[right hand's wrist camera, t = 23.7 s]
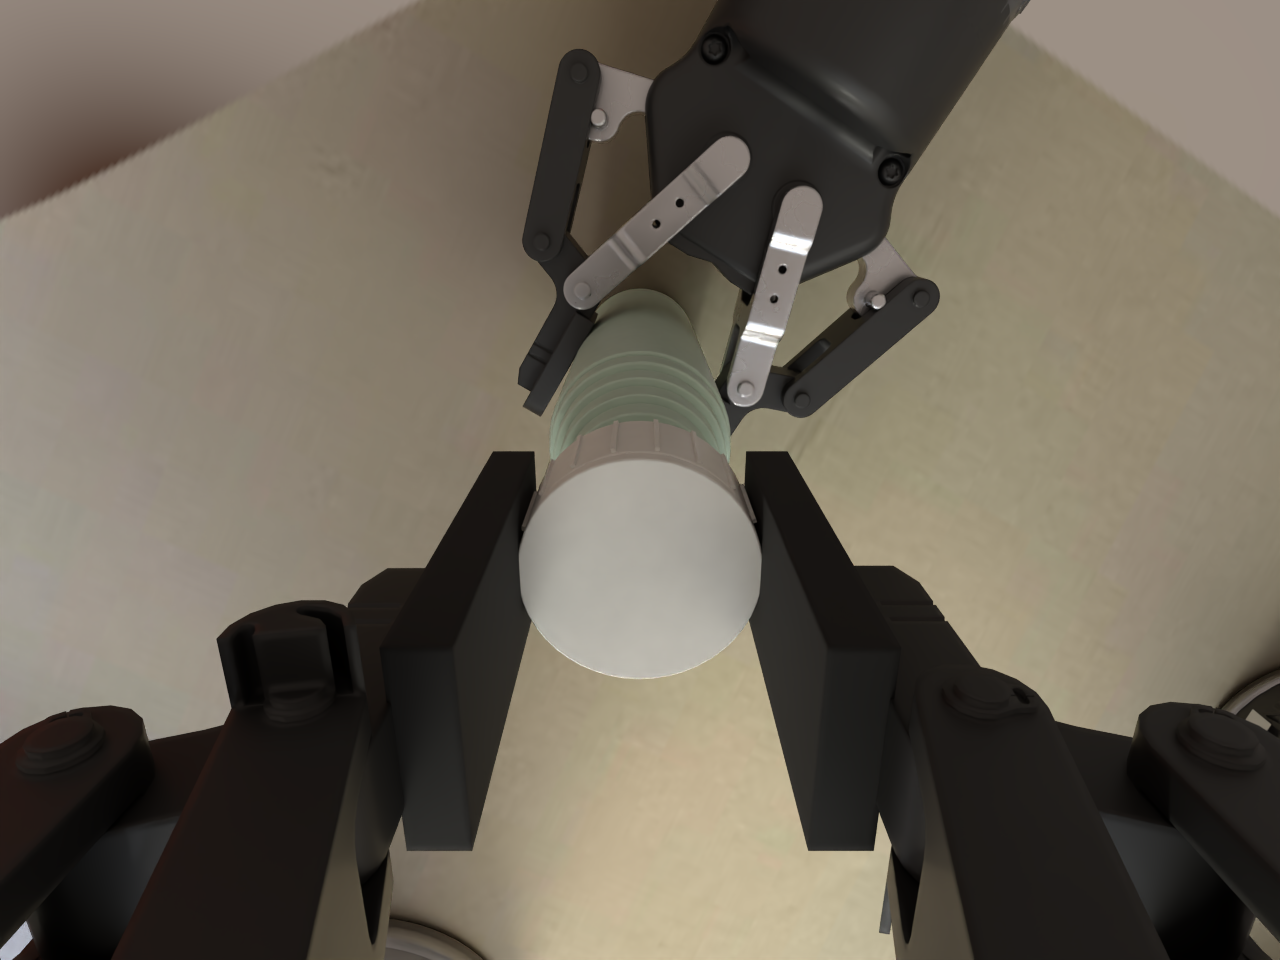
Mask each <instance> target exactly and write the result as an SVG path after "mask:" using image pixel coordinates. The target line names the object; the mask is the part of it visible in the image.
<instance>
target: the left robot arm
mask: <svg viewBox="0 0 1280 960" xmlns="http://www.w3.org/2000/svg"><path fill="white" fill-rule="evenodd" d="M1029 1H1030V0H718V1H717V3H716V5H715V7H714V8H713V10H712V12H711V14H710V16H709V17H708V19H707V21H706V23H705V25H704V26H703V28H702V30H701V32H700V34H699V35H698V37H697V39H696V41H695V42H694V44H693V46H692V47H691V49H690V50H689V51H688V52H687V53H686V54H685V55H684V56H683V57H682V58H681V59H680V60H678V61H677V62H676V63H674V64H673V65H671V66H670V67H668V68H666V69H665V70H663V71H662V72H661V73H660V74H659V75H658V76H657V77H656V78H655V79H654V80H652V79H649V78H646V77H642V76H639V75H636V74H633V73H629V72H626V71H623V70H620V69H616V68H613V67H610V66H607V65H604V64H601V63H599V62H598V61H597V59H596V58H595V57H594V56H593V55H592V54H591V53H590V52H588V51H586V50H583V49H574V50H571V51H569V52H568V53H566V54H565V55H564V56H563V58H562V59H561V61H560V64H559V68H558V73H557V77H556V82H555V87H554V91H553V96H552V101H551V106H550V110H549V115H548V120H547V124H546V129H545V134H544V139H543V143H542V148H541V153H540V157H539V162H538V167H537V171H536V176H535V181H534V186H533V190H532V195H531V200H530V204H529V209H528V214H527V219H526V223H525V228H524V233H523V238H522V243H523V247H524V250H525V252H526V253H527V254H528V256H529V257H531V258H532V259H534V260H536V261H538V263H539V264H540V265H541V266H542V267H543V269H544V270H545V271H546V272H547V274H548V275H549V276H550V277H551V279H552V280H553V282H554V284H555V287H556V291H557V298H556V302H555V305H554V307H553V309H552V311H551V312H550V314H549V316H548V318H547V320H546V321H545V323H544V325H543V327H542V329H541V330H540V332H539V334H538V336H537V337H536V339H535V341H534V343H533V345H532V346H531V348H530V350H529V352H528V354H527V355H526V357H525V359H524V361H523V363H522V364H521V366H520V368H519V377H518V384H519V385H520V386H522V387H524V388H526V389H527V390H529V391H531V392H530V394H529V396H528V398H527V399H526V401H525V403H524V405H523V407H525V408H526V409H528V410H530V411H532V412H533V413H535V414H537V415H539V416H540V417H541V415H542V414H543V412H544V410H545V409H546V407H547V405H548V403H549V402H550V400H551V398H552V396H553V395H554V393H555V391H556V390H557V388H558V386H559V384H560V383H561V381H562V379H563V377H564V376H565V374H566V372H567V371H568V369H569V367H570V365H571V364H572V362H573V360H574V358H575V357H576V355H577V352H578V350H579V349H580V347H581V345H582V344H583V342H584V341H585V339H586V338H587V336H588V334H589V333H590V331H591V329H592V327H593V326H594V324H595V321H596V319H597V316H598V313H596V312H595V310H596V308H597V307H598V305H599V303H600V301H601V300H602V299H603V298H604V297H605V296H606V295H607V294H608V293H610V292H611V291H612V290H613V289H614V288H615V287H616V286H617V285H618V284H620V283H621V282H622V281H623V280H624V279H625V278H626V277H627V276H629V275H630V274H631V273H632V272H633V271H634V270H635V269H637V268H638V267H639V266H641V265H642V264H643V263H644V262H646V261H647V260H648V259H649V258H650V257H651V256H652V255H654V254H655V253H656V252H657V251H658V250H659V249H660V248H661V247H663V246H664V245H665V244H666V243H667V242H668V243H670V244H671V245H673V246H675V247H676V248H678V249H679V250H681V251H682V252H684V253H686V254H687V255H690V256H693V257H696V258H700V259H703V260H706V261H710V262H712V263H713V264H714V266H715V267H716V268H717V269H718V270H719V271H720V272H721V273H722V274H723V276H724V277H726V278H727V279H728V280H729V281H730V282H731V283H733V284H734V285H736V286H737V287H739V288H740V290H739V294H738V298H737V302H736V305H735V309H734V315H733V324H732V328H731V332H730V336H729V339H728V343H727V347H726V351H725V354H724V358H723V362H722V365H721V369H720V375H719V376H718V378H717V379H716V381H715V384H716V386H717V388H718V391H719V393H720V396H721V398H722V401H723V403H724V406H725V408H726V412H727V415H728V419H729V425H730V436H731V435H732V433H733V432H734V430H735V429H736V428H737V426H738V425H739V423H740V422H741V420H742V419H743V417H744V416H745V415H746V414H747V413H749V412H750V411H752V410H755V409H758V408H769V409H774V410H779V411H784V412H788V413H789V414H790V415H792V416H794V417H798V418H803V417H807V416H810V415H811V414H813V413H814V412H815V411H816V410H818V409H819V408H820V407H821V406H822V405H823V404H825V403H826V402H827V401H828V400H829V399H831V398H832V397H833V396H834V395H835V394H836V393H838V392H839V391H840V390H841V389H842V388H844V387H845V386H846V385H847V384H848V383H849V382H851V381H852V380H853V379H854V378H855V377H857V376H858V375H859V374H860V373H861V372H862V371H864V370H865V369H866V368H867V367H868V366H869V365H871V364H872V363H873V362H874V361H875V360H877V359H878V358H879V357H880V356H881V355H882V354H884V353H885V352H886V351H887V350H888V349H890V348H891V347H892V346H893V345H894V344H895V343H897V342H898V341H899V340H900V339H901V338H903V337H904V336H905V335H906V334H907V333H908V332H910V331H911V330H912V329H913V328H914V327H915V326H917V325H918V324H919V323H920V322H921V321H923V320H924V319H925V318H926V317H927V316H928V315H930V314H931V313H932V312H933V311H934V310H935V309H936V307H937V305H938V303H939V299H940V293H939V289H938V287H937V286H936V284H935V283H934V282H932V281H930V280H928V279H924V278H921V277H918V276H916V275H915V274H914V273H913V272H912V270H911V269H910V268H909V267H908V265H907V264H906V263H905V261H904V260H903V259H902V258H901V256H900V255H899V254H898V253H897V251H896V250H895V249H894V248H893V246H892V245H891V244H890V243H889V241H888V240H887V239H886V237H885V236H886V234H887V232H888V229H889V226H890V219H891V211H892V206H893V202H894V199H895V196H896V194H897V192H898V189H899V188H900V186H901V184H902V183H903V181H904V180H905V178H906V177H907V175H908V174H909V173H910V171H911V170H912V168H913V167H914V165H915V164H916V162H917V161H918V159H919V158H920V156H921V155H922V153H923V152H924V150H925V149H926V147H927V146H928V145H929V143H930V142H931V140H932V139H933V137H934V136H935V134H936V133H937V131H938V130H939V128H940V127H941V125H942V124H943V122H944V121H945V119H946V118H947V116H948V115H949V113H950V112H951V110H952V109H953V107H954V106H955V104H956V103H957V101H958V100H959V98H960V97H961V95H962V94H963V92H964V91H965V89H966V88H967V87H968V85H969V84H970V82H971V81H972V79H973V78H974V76H975V75H976V73H977V72H978V70H979V69H980V67H981V65H982V64H983V63H984V61H985V60H986V58H987V57H988V55H989V54H990V52H991V51H992V49H993V48H994V46H995V45H996V43H997V42H998V40H999V39H1000V37H1001V36H1002V34H1003V33H1004V31H1005V30H1006V28H1007V27H1008V25H1009V24H1010V23H1011V21H1012V20H1013V19H1014V18H1015V17H1016V16H1017V15H1018V14H1020V13H1021V12H1022V11H1023V10H1024V8H1025V7H1026V6H1027V4H1028V3H1029ZM633 115H645V123H646V136H647V150H648V163H649V177H650V190H651V200H650V201H649V202H648V203H646V204H645V205H644V206H643V207H642V208H641V209H640V210H639V211H638V212H637V213H636V214H634V215H633V216H632V217H631V218H630V219H629V220H628V221H627V222H626V223H625V224H624V225H622V226H621V227H620V228H619V229H618V230H617V231H616V232H615V233H614V234H613V235H612V236H611V237H610V238H608V239H607V240H606V241H605V242H604V243H603V244H602V245H601V246H600V247H599V248H598V249H596V250H595V251H594V252H593V253H592V254H591V255H590V256H589V257H588V256H587V255H586V253H585V252H584V251H583V249H582V248H581V247H580V246H579V244H578V243H577V242H576V241H575V239H574V238H573V237H572V236H571V234H570V233H571V228H572V224H573V220H574V215H575V211H576V207H577V202H578V198H579V194H580V190H581V185H582V181H583V177H584V172H585V168H586V164H587V159H588V155H589V151H590V147H591V142H595V143H599V144H603V143H607V142H610V141H611V140H613V139H614V138H615V137H616V135H617V134H618V132H619V129H620V127H621V125H622V123H623V122H624V121H625V120H626V119H627V118H628V117H630V116H633ZM654 220H655V223H656V225H653V224H652V223H653V221H654ZM855 260H858V263H859V272H858V276H857V278H856V279H855V281H854V282H853V283H852V284H851V286H850V287H849V289H848V291H847V303H848V305H849V307H850V308H849V309H848V310H847V311H846V312H845V313H844V314H843V315H842V316H840V317H839V318H838V319H837V320H836V321H835V322H834V323H832V324H831V325H830V326H829V327H828V328H827V329H826V330H824V331H823V332H822V333H821V334H820V335H819V336H818V337H816V338H815V339H814V340H813V341H812V342H811V343H810V344H808V345H807V346H806V347H805V348H804V349H803V350H802V351H800V352H799V353H798V354H797V355H796V356H795V357H794V358H792V359H791V360H790V361H789V362H788V363H787V364H786V365H784V366H783V367H778V366H773V365H772V361H773V358H774V354H775V351H776V348H777V345H778V343H779V341H780V340H781V339H782V337H783V335H784V332H785V329H786V326H787V322H788V319H789V316H790V312H791V309H792V305H793V302H794V299H795V295H796V292H797V288H798V285H799V284H800V283H803V282H805V281H808V280H810V279H812V278H815V277H817V276H819V275H822V274H824V273H826V272H829V271H831V270H834V269H836V268H838V267H841V266H843V265H845V264H848V263H850V262H853V261H855ZM1222 710H1225V711H1228V712H1231V713H1233V714H1235V715H1236V716H1238V717H1240V718H1242V719H1245V720H1247V721H1249V722H1252V723H1254V724H1256V725H1259V726H1260V727H1262V728H1263V729H1265V730H1267V731H1268V732H1270V733H1271V734H1273V735H1274V736H1276V737H1277V738H1279V739H1280V669H1279V670H1276V671H1274V672H1271V673H1269V674H1267V675H1265V676H1263V677H1261V678H1259V679H1257V680H1256V681H1254V682H1252V683H1251V684H1249V685H1248V686H1246V687H1245V688H1243V689H1242V690H1241V691H1240V692H1238V693H1237V694H1236V695H1235V696H1234V697H1232V698H1231V699H1230V700H1229V701H1228V702H1227V703H1226V704H1225V705H1224V706H1223V708H1222Z"/></svg>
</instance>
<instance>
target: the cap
mask: <svg viewBox="0 0 1280 960" xmlns="http://www.w3.org/2000/svg"><path fill="white" fill-rule="evenodd" d="M754 523H757V520H756V518H755V515H754V512H753V509H752V507H751V504H750V501H749V498H748V495H747V493H746V490H745V487H744V485H743V484H742V485H740V484H739V482H738V480H737V478H736V475H735V473H734V472H733V470H732V469H731V467H730V466H729V464H728V461H727V458H726V456H725V455H724V453H722V454H721V455H720V454H719V452H717V451H716V450H715V449H714V448H713V447H712V446H711V445H709V444H708V443H707V442H705V441H704V440H702V439H701V438H699V437H698V436H697V435H696V432H695V431H693V430H692V431H691V433H690V432H688V431H686V430H684V429H681V428H678V427H675V426H672V425H669V424H664V423H659V422H658V420H657V419H654V420H653V422H652V421H628V422H621V423H619V422H618V420H617V421H614V423H613V424H611V425H608V426H605V427H602V428H599V429H596V430H594V431H592V432H590V433H588V434H586V435H584V436H582V435H581V434H580V435H579V436H577V439H576V441H575V442H573V443H572V444H571V445H570V446H568V447H567V448H566V449H565V450H564V451H563V452H562V453H561V454H560V455H559V456H558V457H557V458H556V459H555V461H554V460H553V459H551V461H550V462H549V465H548V468H547V470H546V473H545V476H544V478H543V480H542V482H541V484H540V487H539V489H538V492H536V491H534V494H533V496H532V499H531V502H530V505H529V507H528V510H527V513H526V516H525V518H524V521H523V524H522V531H524V533H523V536H522V539H521V542H520V546H519V571H520V587H521V597H522V601H523V603H524V606H525V608H526V610H527V613H528V615H529V617H530V618H531V620H532V621H533V623H534V625H535V626H536V628H537V629H538V630H539V632H540V633H541V634H542V635H543V637H544V638H545V639H546V640H547V641H548V642H549V643H550V644H551V645H552V646H553V647H554V648H555V649H557V650H558V651H559V652H561V653H562V654H563V655H565V656H566V657H567V658H569V659H571V660H572V661H574V662H576V663H578V664H579V665H581V666H584V667H586V668H588V669H591V670H593V671H596V672H599V673H603V674H606V675H609V676H615V677H621V678H631V679H649V678H659V677H665V676H671V675H674V674H678V673H681V672H685V671H687V670H689V669H692V668H694V667H697V666H699V665H701V664H702V663H704V662H706V661H708V660H710V659H711V658H713V657H714V656H716V655H717V654H718V653H720V652H721V651H722V650H724V649H725V648H726V647H727V646H728V645H729V644H730V643H731V642H732V641H733V640H734V639H735V638H736V637H737V636H738V634H739V633H740V632H741V631H742V630H743V628H744V627H745V625H746V623H747V622H748V620H749V619H750V617H751V615H752V613H753V611H754V609H755V606H756V604H757V601H758V598H759V594H760V579H761V562H762V550H761V545H760V542H759V538H758V535H757V532H756V529H755V526H754Z"/></svg>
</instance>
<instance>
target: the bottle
mask: <svg viewBox="0 0 1280 960" xmlns="http://www.w3.org/2000/svg"><path fill="white" fill-rule="evenodd" d="M596 313H598V316H597V319H596V321H595V324H594V326H593V327H592V329H591V331H590V333H589V334H588V336H587V338H586V339H585V341H584V342H583V344H582V345H581V347H580V349H579V350H578V352H577V355H576V357H575V359H574V362H573V364H572V366H571V369H570V371H569V374H568V376H567V379H566V381H565V384H564V386H563V389H562V391H561V393H560V396H559V398H558V401H557V403H556V406H555V409H554V412H553V415H552V419H551V425H550V450H549V451H550V460H551V459H553V460H554V461H555V459H556V458H557V457H558V456H559V455H560V454H561V453H562V452H563V451H564V450H565V449H566V448H567V447H568V446H570V445H571V444H572V443H573V442H575V441H576V439H577V436H579V435H580V434H581V435H582V436H584V435H586V434H588V433H590V432H592V431H594V430H596V429H599V428H602V427H605V426H608V425H611V424H613V423H614V421H617V420H618V422H619V423H621V422H628V421H652V422H653V420H654V419H657V420H658V422H659V423H664V424H669V425H672V426H675V427H678V428H681V429H684V430H686V431H688V432H690V433H691V431H692V430H693V431H695V432H696V435H697V436H698V437H699V438H701V439H702V440H704V441H705V442H707V443H708V444H709V445H711V446H712V447H713V448H714V449H715V450H716V451H717V452H719V454H720V455H721V454H722V453H724V455H725V456H726V458H727V461H728V464H729V460H730V451H731V448H730V425H729V419H728V415H727V412H726V408H725V406H724V403H723V401H722V398H721V396H720V393H719V391H718V388H717V386H716V384H715V381H714V379H713V376H712V374H711V371H710V369H709V367H708V364H707V362H706V359H705V357H704V354H703V352H702V349H701V347H700V345H699V342H698V340H697V337H696V335H695V332H694V330H693V327H692V325H691V323H690V320H689V318H688V316H687V315H686V313H685V312H684V310H683V309H682V308H681V307H680V305H678V304H677V303H676V302H675V301H674V300H673V299H671V298H670V297H668V296H667V295H665V294H663V293H660V292H657V291H655V290H650V289H630V290H625V291H622V292H620V293H617V294H615V295H613V296H612V297H610V298H609V299H607V300H606V301H605V302H604V303H603V304H601V305H600V307H599V308H598V309H597V310H596Z"/></svg>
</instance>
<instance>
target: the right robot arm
mask: <svg viewBox="0 0 1280 960" xmlns="http://www.w3.org/2000/svg"><path fill="white" fill-rule="evenodd" d="M744 487H745V490H746V493H747V495H748V498H749V501H750V504H751V507H752V509H753V512H754V515H755V518H756V520H757V523H754V526H755V529H756V532H757V535H758V538H759V542H760V545H761V550H762V562H761V579H760V594H759V598H758V601H757V604H756V606H755V609H754V611H753V613H752V615H751V617H750V619H749V622H750V626H751V630H752V634H753V638H754V642H755V645H756V649H757V653H758V657H759V661H760V665H761V669H762V673H763V677H764V680H765V684H766V688H767V692H768V696H769V700H770V704H771V708H772V711H773V715H774V719H775V723H776V727H777V731H778V735H779V739H780V743H781V746H782V750H783V754H784V758H785V762H786V766H787V770H788V774H789V778H790V781H791V785H792V789H793V793H794V797H795V801H796V805H797V809H798V813H799V816H800V820H801V824H802V828H803V832H804V836H805V840H806V844H807V848H808V851H874V845H875V838H876V830H877V823H878V816H879V813H880V816H881V818H882V821H883V823H884V826H885V829H886V831H887V834H888V836H889V839H890V841H891V844H892V846H891V853H890V860H889V867H888V874H887V881H886V887H885V894H884V901H883V908H882V915H881V922H880V929H879V933H885V934H890V928H891V922H892V929H893V938H894V946H895V954H896V960H1272V959H1271V958H1270V957H1269V956H1268V955H1267V954H1266V953H1264V952H1263V951H1262V950H1261V948H1260V947H1259V946H1258V945H1257V944H1256V943H1255V942H1254V940H1253V939H1252V938H1251V937H1250V936H1249V934H1250V931H1251V929H1252V926H1253V923H1254V921H1255V918H1256V917H1257V918H1258V919H1259V920H1260V921H1261V922H1262V924H1263V925H1264V926H1265V927H1266V928H1267V929H1268V930H1269V931H1270V932H1271V933H1272V935H1273V936H1274V937H1275V938H1276V939H1277V940H1278V941H1279V942H1280V739H1279V738H1277V737H1276V736H1274V735H1273V734H1271V733H1270V732H1268V731H1267V730H1265V729H1263V728H1262V727H1260V726H1259V725H1256V724H1254V723H1252V722H1249V721H1247V720H1245V719H1242V718H1240V717H1238V716H1236V715H1235V714H1233V713H1231V712H1228V711H1225V710H1222V709H1218V708H1216V709H1214V708H1212V707H1211V706H1206V705H1201V704H1189V703H1177V702H1168V703H1162V704H1156V705H1151V706H1149V707H1148V708H1147V709H1146V710H1144V711H1143V712H1142V713H1141V714H1140V715H1139V717H1138V721H1137V725H1136V728H1135V732H1134V736H1133V738H1132V737H1127V736H1122V735H1117V734H1112V733H1107V732H1102V731H1097V730H1091V729H1086V728H1081V727H1076V726H1073V725H1069V724H1065V723H1061V722H1057V721H1055V720H1054V718H1053V716H1052V714H1051V712H1050V710H1049V708H1048V706H1047V705H1046V704H1045V703H1044V701H1043V700H1042V699H1041V698H1040V696H1039V695H1038V694H1037V693H1036V692H1035V691H1034V690H1032V689H1031V688H1029V687H1028V686H1026V685H1025V684H1023V683H1022V682H1020V681H1019V680H1017V679H1015V678H1013V677H1010V676H1008V675H1005V674H1003V673H1000V672H998V671H995V670H993V669H988V668H983V667H980V665H979V664H978V663H977V661H976V660H975V658H974V657H973V656H972V654H971V653H970V652H969V650H968V649H967V647H966V646H965V645H964V643H963V642H962V641H961V639H960V638H959V636H958V635H957V634H956V632H955V631H954V630H953V628H952V627H951V625H950V624H949V623H948V621H945V620H944V616H943V614H942V613H941V612H940V610H939V609H938V608H937V606H936V605H933V601H932V599H931V598H930V596H929V595H928V594H927V592H926V591H925V590H924V588H923V587H922V585H921V584H920V583H919V582H918V581H916V580H915V579H913V578H912V577H910V576H909V575H907V574H905V573H904V572H902V571H901V570H899V569H898V568H896V567H894V566H854V565H853V563H852V562H851V560H850V558H849V557H848V555H847V553H846V551H845V550H844V548H843V546H842V545H841V543H840V541H839V539H838V538H837V536H836V534H835V532H834V531H833V529H832V527H831V526H830V524H829V522H828V520H827V519H826V517H825V515H824V514H823V512H822V510H821V508H820V507H819V505H818V503H817V502H816V500H815V498H814V496H813V495H812V493H811V491H810V489H809V488H808V486H807V484H806V483H805V481H804V479H803V477H802V476H801V474H800V472H799V471H798V469H797V467H796V465H795V464H794V462H793V460H792V459H791V457H790V455H789V453H788V452H787V451H746V466H745V486H744ZM534 491H536V476H535V456H534V451H493V453H492V454H491V456H490V458H489V459H488V461H487V463H486V465H485V466H484V468H483V470H482V471H481V473H480V475H479V477H478V478H477V480H476V482H475V483H474V485H473V487H472V489H471V490H470V492H469V494H468V496H467V497H466V499H465V501H464V502H463V504H462V506H461V508H460V509H459V511H458V513H457V514H456V516H455V518H454V520H453V521H452V523H451V525H450V527H449V528H448V530H447V532H446V533H445V535H444V537H443V539H442V540H441V542H440V544H439V545H438V547H437V549H436V551H435V552H434V554H433V556H432V558H431V559H430V561H429V563H428V564H427V566H426V568H387V569H386V570H384V571H383V572H381V573H379V574H378V575H376V576H375V577H373V578H372V579H370V580H368V581H367V582H365V583H364V584H362V585H361V587H360V588H359V589H358V591H357V592H356V594H355V595H354V596H353V598H352V599H351V600H350V602H349V603H348V608H347V607H345V606H344V605H342V604H338V603H334V602H329V601H325V600H301V601H295V602H289V603H283V604H278V605H274V606H271V607H268V608H265V609H262V610H259V611H256V612H253V613H250V614H248V615H247V616H245V617H243V618H241V619H240V620H238V621H236V622H234V623H233V624H231V625H229V626H228V627H227V628H226V629H225V631H224V632H223V633H222V634H221V635H220V636H219V637H218V638H217V644H218V648H219V653H220V658H221V662H222V667H223V671H224V676H225V680H226V685H227V689H228V694H229V698H230V703H231V708H232V709H231V711H230V713H229V715H228V717H227V719H226V721H225V723H224V725H221V726H218V727H214V728H210V729H206V730H201V731H196V732H191V733H186V734H181V735H176V736H171V737H166V738H161V739H156V740H151V741H148V737H147V733H146V730H145V726H144V722H143V719H142V718H141V717H140V716H139V715H138V714H137V713H135V712H134V711H133V710H132V709H128V708H122V707H117V706H111V705H110V706H99V707H87V708H79V709H74V710H70V712H66V711H65V712H62V713H59V714H56V715H52V716H50V717H48V718H46V719H45V720H43V721H41V722H38V723H36V724H34V725H32V726H29V727H27V728H25V729H23V730H21V731H19V732H18V733H16V734H15V735H13V736H12V737H10V738H9V739H7V740H6V741H4V742H3V743H1V744H0V949H1V948H2V947H3V946H4V944H5V943H6V942H7V941H8V940H9V939H10V938H11V937H12V936H13V934H14V933H15V932H16V931H17V930H18V929H19V928H20V927H21V926H22V924H23V923H24V922H25V921H27V924H28V927H29V929H30V932H31V935H32V938H33V939H32V940H31V941H30V942H29V943H28V945H27V946H26V947H25V948H24V949H23V950H22V951H21V953H20V954H19V955H17V956H16V957H15V958H14V959H13V960H483V959H482V958H481V957H480V956H478V955H477V954H476V953H475V952H473V951H472V950H471V949H469V948H468V947H467V946H465V945H463V944H462V943H460V942H458V941H457V940H455V939H453V938H451V937H449V936H447V935H445V934H443V933H441V932H438V931H436V930H433V929H431V928H428V927H424V926H421V925H418V924H414V923H410V922H406V921H400V920H394V919H389V915H390V907H391V898H392V890H393V874H392V867H391V860H390V853H389V847H390V844H391V842H392V839H393V836H394V834H395V831H396V829H397V826H398V823H399V821H400V818H401V816H402V819H403V826H404V834H405V841H406V848H407V851H472V850H473V846H474V842H475V838H476V834H477V830H478V826H479V822H480V818H481V815H482V811H483V807H484V803H485V799H486V795H487V791H488V787H489V783H490V780H491V776H492V772H493V768H494V764H495V760H496V756H497V752H498V748H499V745H500V741H501V737H502V733H503V729H504V725H505V721H506V717H507V713H508V710H509V706H510V702H511V698H512V694H513V690H514V686H515V682H516V678H517V675H518V671H519V667H520V663H521V659H522V655H523V651H524V647H525V643H526V640H527V636H528V632H529V628H530V624H531V618H530V617H529V615H528V613H527V610H526V608H525V606H524V603H523V601H522V597H521V587H520V571H519V546H520V542H521V539H522V536H523V533H524V531H522V524H523V521H524V518H525V516H526V513H527V510H528V507H529V505H530V502H531V499H532V496H533V494H534ZM0 960H1V959H0Z"/></svg>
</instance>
